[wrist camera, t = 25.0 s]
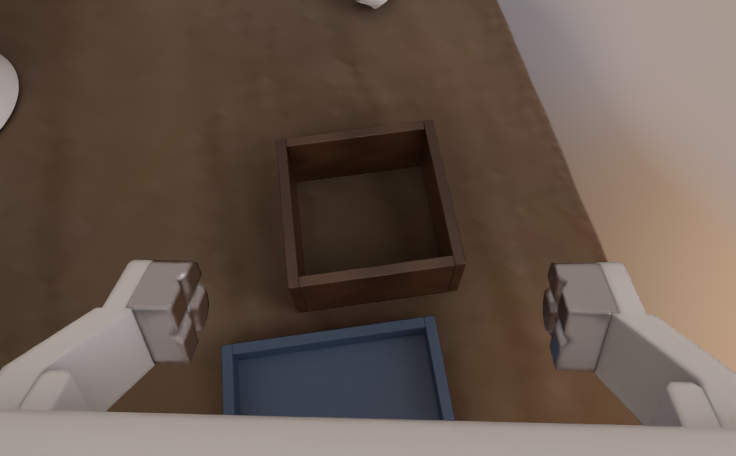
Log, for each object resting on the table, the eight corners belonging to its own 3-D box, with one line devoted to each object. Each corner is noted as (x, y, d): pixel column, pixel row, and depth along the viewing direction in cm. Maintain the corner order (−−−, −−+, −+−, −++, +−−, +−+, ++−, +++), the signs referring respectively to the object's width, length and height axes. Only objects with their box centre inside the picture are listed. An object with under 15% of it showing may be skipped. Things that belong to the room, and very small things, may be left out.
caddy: (298, 312, 45) (287, 288, 40) (286, 175, 50) (275, 139, 46) (457, 290, 45) (466, 263, 40) (428, 156, 51) (432, 119, 46)
